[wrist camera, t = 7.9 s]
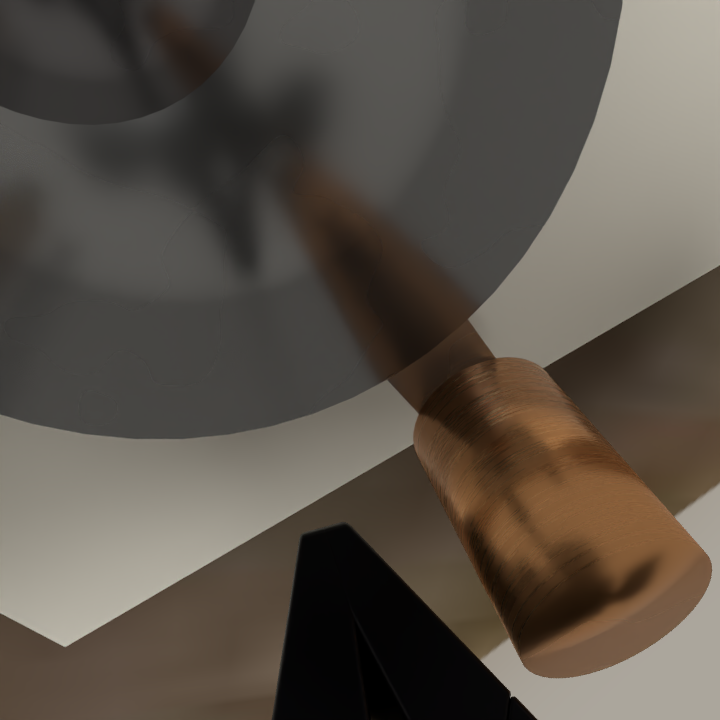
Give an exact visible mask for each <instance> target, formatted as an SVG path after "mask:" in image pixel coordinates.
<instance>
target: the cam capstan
mask: <svg viewBox="0 0 720 720" xmlns="http://www.w3.org/2000/svg"><path fill="white" fill-rule="evenodd" d="M622 3H623V0H0V415H4V416H7V417H11V418H14V419H17V420H21V421H24V422H28V423H31V424H35V425H40V426H45V427H51V428H56V429H61V430H66V431H71V432H76V433H81V434H89V435H99V436H109V437H119V438H130V439H188V438H198V437H209V436H219V435H229V434H234V433H239V432H244V431H249V430H255V429H260V428H265V427H270V426H274V425H277V424H281V423H284V422H287V421H291V420H294V419H297V418H301V417H304V416H307V415H311V414H314V413H316V412H319V411H321V410H324V409H326V408H329V407H331V406H334V405H336V404H338V403H341V402H343V401H346V400H348V399H351V398H353V397H355V396H357V395H359V394H361V393H363V392H365V391H366V390H368V389H370V388H372V387H374V386H376V385H378V384H380V383H381V382H383V381H385V380H388V382H389V383H390V384H391V385H392V386H393V387H394V388H395V389H396V390H397V391H398V392H399V393H400V394H401V395H402V397H403V398H404V399H405V400H406V401H407V402H408V403H409V404H410V405H411V406H412V407H413V408H414V409H415V410H416V412H417V413H418V414H419V415H418V417H417V420H416V423H415V427H414V433H413V442H414V448H415V451H416V454H417V456H418V458H419V460H420V462H421V464H422V466H423V468H424V470H425V472H426V474H427V476H428V478H429V480H430V482H431V484H432V486H433V488H434V490H435V492H436V493H437V495H438V497H439V499H440V501H441V503H442V505H443V507H444V509H445V511H446V513H447V515H448V517H449V519H450V521H451V523H452V525H453V527H454V529H455V531H456V533H457V535H458V537H459V539H460V541H461V543H462V545H463V547H464V549H465V551H466V553H467V555H468V557H469V559H470V561H471V563H472V565H473V567H474V569H475V571H476V573H477V574H478V576H479V578H480V580H481V582H482V584H483V586H484V588H485V590H486V592H487V594H488V596H489V598H490V600H491V602H492V604H493V606H494V608H495V610H496V612H497V614H498V616H499V618H500V620H501V622H502V624H503V626H504V628H505V630H506V632H507V634H508V636H509V638H510V640H511V641H512V644H513V646H514V648H515V649H516V652H517V653H518V655H519V657H520V659H521V661H522V663H523V665H524V666H525V667H526V668H527V669H528V670H529V671H530V672H532V673H534V674H536V675H539V676H542V677H548V678H569V677H576V676H581V675H585V674H590V673H593V672H596V671H600V670H603V669H605V668H608V667H611V666H613V665H615V664H618V663H620V662H622V661H624V660H626V659H628V658H630V657H632V656H634V655H636V654H638V653H639V652H641V651H643V650H645V649H646V648H648V647H649V646H651V645H653V644H654V643H656V642H657V641H658V640H660V639H661V638H663V637H664V636H665V635H667V634H668V633H669V632H670V631H672V630H673V629H674V628H675V627H676V626H677V625H679V624H680V623H681V622H682V621H683V620H684V619H685V618H686V617H687V615H689V614H690V612H691V611H692V610H693V609H694V608H695V607H696V605H697V604H698V603H699V601H700V600H701V598H702V597H703V595H704V593H705V591H706V590H707V587H708V585H709V582H710V579H711V573H712V565H711V561H710V558H709V557H708V555H707V554H706V553H705V552H704V550H703V549H702V548H701V547H700V546H699V545H698V544H697V542H696V541H695V540H694V539H693V538H692V537H691V536H690V535H689V534H688V532H687V531H686V530H685V529H684V528H683V527H682V525H681V524H680V523H679V522H678V521H677V520H676V519H675V517H674V516H673V515H672V514H671V513H670V512H669V511H668V510H667V508H666V507H665V506H664V505H663V504H662V503H661V502H660V500H659V499H658V498H657V497H656V496H655V495H654V494H653V492H652V491H651V490H650V489H649V488H648V487H647V486H646V485H645V483H644V482H643V481H642V480H641V479H640V478H639V477H638V475H637V474H636V473H635V472H634V471H633V470H632V469H631V467H630V466H629V465H628V464H627V463H626V462H625V461H624V460H623V458H622V457H621V456H620V455H619V454H618V453H617V452H616V450H615V449H614V448H613V447H612V446H611V445H610V444H609V442H608V441H607V440H606V439H605V438H604V437H603V436H602V435H601V433H600V432H599V431H598V430H597V429H596V428H595V427H594V425H593V424H592V423H591V422H590V421H589V420H588V419H587V417H586V416H585V415H584V414H583V413H582V412H581V411H580V410H579V408H578V407H577V406H576V405H575V404H574V403H573V402H572V400H571V399H570V398H569V397H568V396H567V395H566V394H565V392H564V391H563V390H562V389H561V388H560V387H559V386H558V385H557V383H556V382H555V381H554V380H553V379H552V378H551V377H550V375H549V374H548V373H547V372H546V371H545V370H544V369H543V368H542V367H540V366H539V365H537V364H536V363H534V362H531V361H529V360H526V359H521V358H514V357H503V358H495V356H494V355H493V353H492V352H491V351H490V349H489V348H488V347H487V345H486V344H485V342H484V341H483V340H482V338H481V337H480V335H479V334H478V333H477V331H476V330H475V329H474V327H473V326H472V324H471V323H470V322H469V320H468V318H469V317H470V316H471V315H472V314H473V313H474V312H475V311H476V310H477V309H478V308H479V307H480V306H481V305H482V304H483V303H484V302H485V301H486V300H487V299H488V298H489V297H490V296H491V295H492V294H493V293H494V292H495V291H496V290H497V288H498V287H499V286H500V285H501V284H502V282H503V281H504V280H505V279H506V277H507V276H508V275H509V274H510V273H511V271H512V270H513V269H514V268H515V266H516V265H517V264H518V263H519V261H520V260H521V259H522V258H523V256H524V255H525V253H526V252H527V250H528V249H529V247H530V246H531V244H532V243H533V241H534V240H535V238H536V237H537V235H538V234H539V232H540V231H541V229H542V228H543V226H544V225H545V223H546V222H547V220H548V219H549V217H550V215H551V214H552V212H553V210H554V208H555V206H556V204H557V202H558V200H559V198H560V197H561V195H562V193H563V191H564V189H565V187H566V185H567V183H568V181H569V180H570V178H571V176H572V174H573V172H574V170H575V167H576V165H577V162H578V160H579V157H580V155H581V153H582V150H583V148H584V145H585V143H586V140H587V138H588V135H589V133H590V130H591V128H592V126H593V123H594V120H595V117H596V114H597V110H598V107H599V104H600V100H601V97H602V93H603V90H604V87H605V83H606V80H607V77H608V73H609V70H610V67H611V62H612V56H613V51H614V46H615V41H616V36H617V31H618V25H619V20H620V15H621V10H622Z"/></svg>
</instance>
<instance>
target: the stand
mask: <svg viewBox="0 0 720 720" xmlns="http://www.w3.org/2000/svg"><path fill="white" fill-rule="evenodd" d="M719 265H720V0H623V3H622V10H621V15H620V20H619V25H618V31H617V36H616V41H615V46H614V51H613V56H612V62H611V67H610V70H609V73H608V77H607V80H606V83H605V87H604V90H603V93H602V97H601V100H600V104H599V107H598V110H597V114H596V117H595V120H594V123H593V126H592V128H591V130H590V133H589V135H588V138H587V140H586V143H585V145H584V148H583V150H582V153H581V155H580V157H579V160H578V162H577V165H576V167H575V170H574V172H573V174H572V176H571V178H570V180H569V181H568V183H567V185H566V187H565V189H564V191H563V193H562V195H561V197H560V198H559V200H558V202H557V204H556V206H555V208H554V210H553V212H552V214H551V215H550V217H549V219H548V220H547V222H546V223H545V225H544V226H543V228H542V229H541V231H540V232H539V234H538V235H537V237H536V238H535V240H534V241H533V243H532V244H531V246H530V247H529V249H528V250H527V252H526V253H525V255H524V256H523V258H522V259H521V260H520V261H519V263H518V264H517V265H516V266H515V268H514V269H513V270H512V271H511V273H510V274H509V275H508V276H507V277H506V279H505V280H504V281H503V282H502V284H501V285H500V286H499V287H498V288H497V290H496V291H495V292H494V293H493V294H492V295H491V296H490V297H489V298H488V299H487V300H486V301H485V302H484V303H483V304H482V305H481V306H480V307H479V308H478V309H477V310H476V311H475V312H474V313H473V314H472V315H471V316H470V317H469V318H468V320H469V322H470V323H471V324H472V326H473V327H474V329H475V330H476V331H477V333H478V334H479V335H480V337H481V338H482V340H483V341H484V342H485V344H486V345H487V347H488V348H489V349H490V351H491V352H492V353H493V355H494V356H495V358H503V357H514V358H521V359H526V360H529V361H531V362H534V363H536V364H537V365H539V366H540V367H542V368H544V367H546V366H548V365H550V364H551V363H553V362H555V361H556V360H558V359H560V358H562V357H563V356H565V355H567V354H568V353H570V352H572V351H574V350H575V349H577V348H579V347H580V346H582V345H584V344H586V343H587V342H589V341H591V340H592V339H594V338H596V337H598V336H599V335H601V334H603V333H604V332H606V331H608V330H610V329H611V328H613V327H615V326H616V325H618V324H620V323H622V322H623V321H625V320H627V319H628V318H630V317H632V316H634V315H635V314H637V313H639V312H640V311H642V310H644V309H646V308H647V307H649V306H651V305H652V304H654V303H656V302H658V301H659V300H661V299H663V298H664V297H666V296H668V295H670V294H671V293H673V292H675V291H676V290H678V289H680V288H682V287H683V286H685V285H687V284H688V283H690V282H692V281H694V280H695V279H697V278H699V277H700V276H702V275H704V274H706V273H707V272H709V271H711V270H712V269H714V268H716V267H718V266H719ZM418 415H419V414H418V413H417V412H416V410H415V409H414V408H413V407H412V406H411V405H410V404H409V403H408V402H407V401H406V400H405V399H404V398H403V397H402V395H401V394H400V393H399V392H398V391H397V390H396V389H395V388H394V387H393V386H392V385H391V384H390V383H389V382H388V380H385V381H383V382H381V383H380V384H378V385H376V386H374V387H372V388H370V389H368V390H366V391H365V392H363V393H361V394H359V395H357V396H355V397H353V398H351V399H348V400H346V401H343V402H341V403H338V404H336V405H334V406H331V407H329V408H326V409H324V410H321V411H319V412H316V413H314V414H311V415H307V416H304V417H301V418H297V419H294V420H291V421H287V422H284V423H281V424H277V425H274V426H270V427H265V428H260V429H255V430H249V431H244V432H239V433H234V434H229V435H219V436H209V437H198V438H188V439H130V438H119V437H109V436H99V435H89V434H81V433H76V432H71V431H66V430H61V429H56V428H51V427H45V426H40V425H35V424H31V423H28V422H24V421H21V420H17V419H14V418H11V417H7V416H4V415H0V613H1V614H3V615H5V616H7V617H9V618H11V619H12V620H14V621H16V622H18V623H20V624H22V625H24V626H26V627H28V628H30V629H32V630H33V631H35V632H37V633H39V634H41V635H43V636H45V637H47V638H49V639H51V640H53V641H54V642H56V643H58V644H60V645H62V646H64V647H66V646H68V645H70V644H71V643H73V642H75V641H76V640H78V639H80V638H82V637H83V636H85V635H87V634H88V633H90V632H92V631H94V630H95V629H97V628H99V627H100V626H102V625H104V624H106V623H107V622H109V621H111V620H112V619H114V618H116V617H118V616H119V615H121V614H123V613H124V612H126V611H128V610H130V609H131V608H133V607H135V606H136V605H138V604H140V603H142V602H143V601H145V600H147V599H148V598H150V597H152V596H154V595H155V594H157V593H159V592H160V591H162V590H164V589H166V588H167V587H169V586H171V585H172V584H174V583H176V582H178V581H179V580H181V579H183V578H184V577H186V576H188V575H190V574H191V573H193V572H195V571H196V570H198V569H200V568H202V567H203V566H205V565H207V564H208V563H210V562H212V561H214V560H215V559H217V558H219V557H220V556H222V555H224V554H226V553H227V552H229V551H231V550H232V549H234V548H236V547H238V546H239V545H241V544H243V543H244V542H246V541H248V540H250V539H251V538H253V537H255V536H256V535H258V534H260V533H262V532H263V531H265V530H267V529H268V528H270V527H272V526H274V525H275V524H277V523H279V522H280V521H282V520H284V519H286V518H287V517H289V516H291V515H292V514H294V513H296V512H298V511H299V510H301V509H303V508H304V507H306V506H308V505H310V504H311V503H313V502H315V501H316V500H318V499H320V498H322V497H323V496H325V495H327V494H328V493H330V492H332V491H334V490H335V489H337V488H339V487H340V486H342V485H344V484H346V483H347V482H349V481H351V480H352V479H354V478H356V477H358V476H359V475H361V474H363V473H364V472H366V471H368V470H370V469H371V468H373V467H375V466H376V465H378V464H380V463H382V462H383V461H385V460H387V459H388V458H390V457H392V456H394V455H395V454H397V453H399V452H400V451H402V450H404V449H406V448H407V447H409V446H411V445H412V444H414V442H413V433H414V427H415V423H416V420H417V417H418Z"/></svg>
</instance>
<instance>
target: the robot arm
mask: <svg viewBox="0 0 720 720" xmlns="http://www.w3.org/2000/svg"><path fill="white" fill-rule="evenodd" d="M510 696H511V693H510V691H509V690H508V689H507V688H506V687H505V686H504V685H503V684H502V683H501V682H500V681H499V680H498V679H497V677H496V676H495V675H494V674H493V673H492V672H491V671H490V670H489V669H488V668H487V667H486V666H485V665H484V664H483V663H482V662H481V661H480V660H479V659H478V658H477V657H476V656H475V655H474V654H473V652H472V651H471V650H470V649H469V648H468V647H467V646H466V645H465V644H464V643H463V642H462V641H461V640H460V639H459V638H458V637H457V636H456V635H455V634H454V633H453V632H452V631H451V630H450V629H449V628H448V626H447V625H446V624H445V623H444V622H443V621H442V620H441V619H440V618H439V617H438V616H437V615H436V614H435V613H434V612H433V611H432V610H431V609H430V608H429V607H428V606H427V605H426V604H425V603H424V601H423V600H422V599H421V598H420V597H419V596H418V595H417V594H416V593H415V592H414V591H413V590H412V589H411V588H410V587H409V586H408V585H407V584H406V583H405V582H404V581H403V580H402V579H401V578H400V576H399V575H398V574H397V573H396V572H395V571H394V570H393V569H392V568H391V567H390V566H389V565H388V564H387V563H386V562H385V561H384V560H383V559H382V558H381V557H380V556H379V555H378V554H377V553H376V552H375V550H374V549H373V548H372V547H371V546H370V545H369V544H368V543H367V542H366V541H365V540H364V539H363V538H362V537H361V536H360V535H359V534H358V533H357V532H356V531H355V530H354V529H353V528H352V527H351V526H350V525H349V524H348V523H346V522H341V523H338V524H334V525H330V526H327V527H324V528H319V529H316V530H312V531H308V532H305V533H303V534H302V535H301V536H300V539H299V545H298V551H297V558H296V565H295V571H294V578H293V584H292V591H291V597H290V604H289V610H288V617H287V624H286V630H285V637H284V643H283V650H282V656H281V663H280V669H279V676H278V683H277V689H276V696H275V702H274V709H273V715H272V720H537V719H536V718H535V717H534V716H533V715H532V714H531V713H530V711H529V710H528V709H527V708H526V707H525V706H524V705H523V704H522V703H521V702H520V701H519V700H518V699H517V698H516V697H511V699H510Z"/></svg>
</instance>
